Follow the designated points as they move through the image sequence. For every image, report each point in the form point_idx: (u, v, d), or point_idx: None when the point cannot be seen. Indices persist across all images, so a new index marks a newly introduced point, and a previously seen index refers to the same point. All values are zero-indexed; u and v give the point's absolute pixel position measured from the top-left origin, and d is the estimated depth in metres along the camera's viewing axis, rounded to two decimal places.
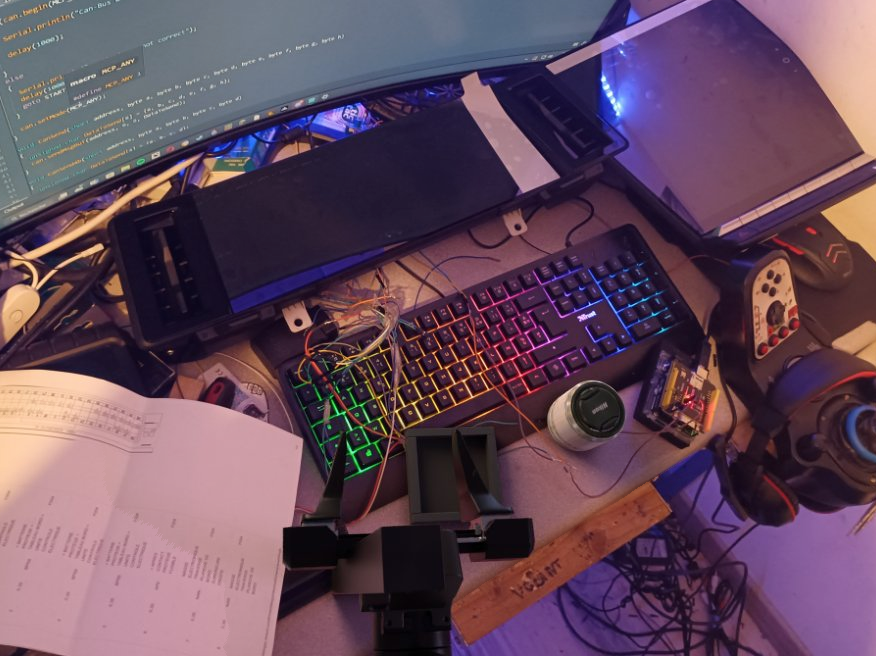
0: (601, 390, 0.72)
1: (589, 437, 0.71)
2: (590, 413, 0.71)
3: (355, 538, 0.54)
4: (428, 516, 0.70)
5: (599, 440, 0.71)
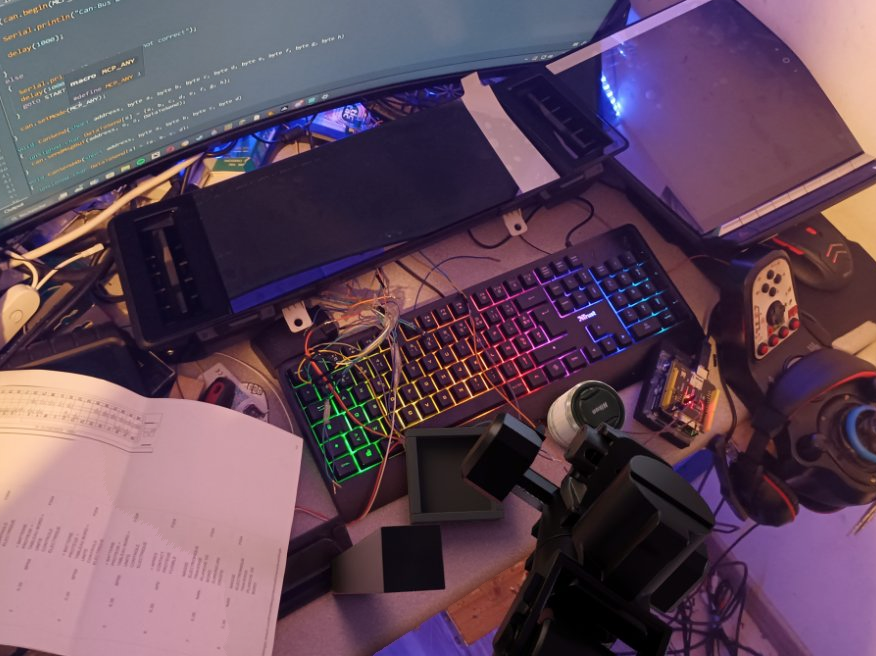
0: (601, 390, 0.72)
1: None
2: (590, 413, 0.71)
3: (540, 477, 0.55)
4: (428, 516, 0.70)
5: None
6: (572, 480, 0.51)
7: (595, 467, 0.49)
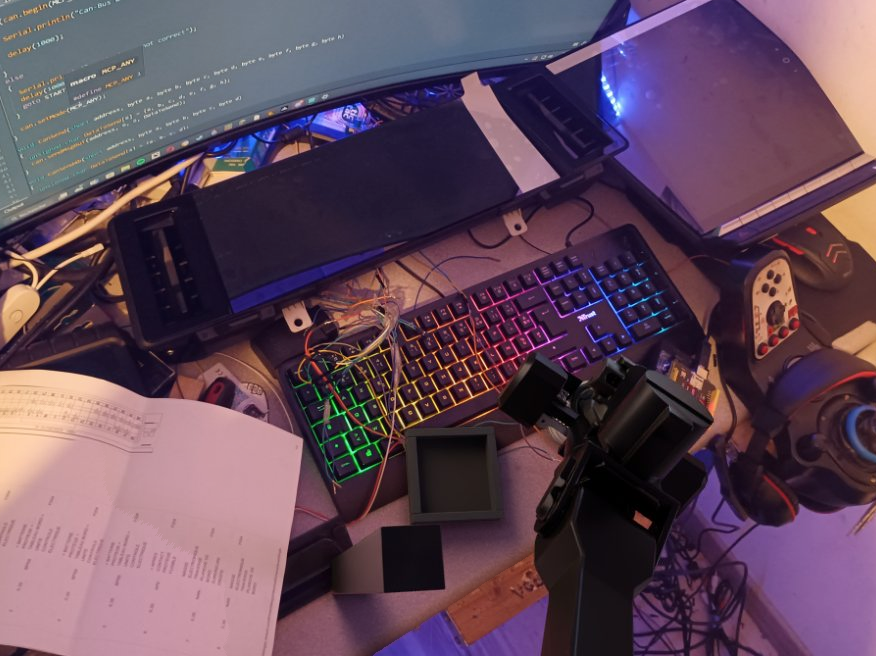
0: None
1: None
2: None
3: (565, 406, 0.66)
4: (428, 516, 0.70)
5: None
6: (594, 403, 0.62)
7: (614, 388, 0.59)
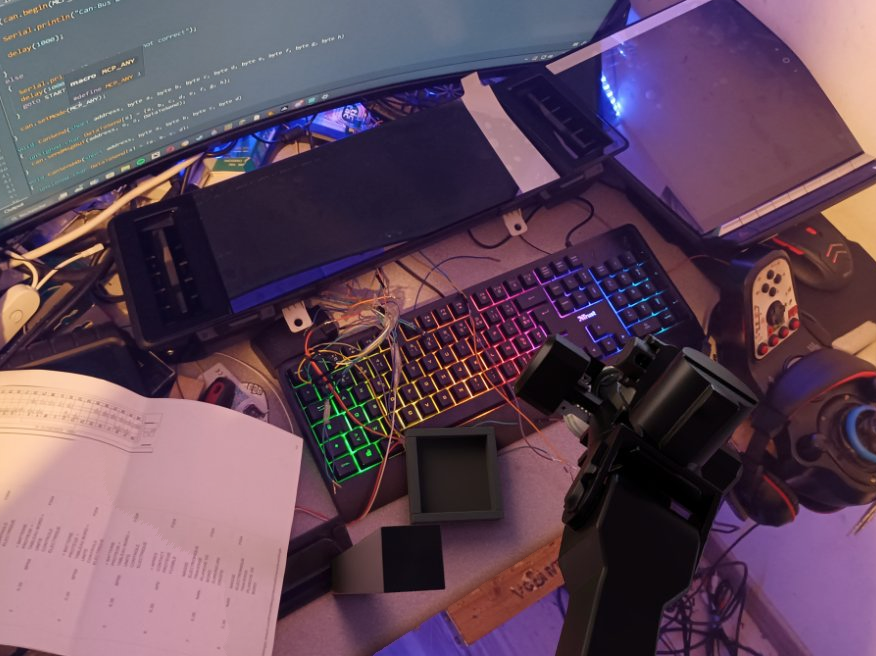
0: None
1: None
2: None
3: (587, 392, 0.61)
4: (428, 516, 0.70)
5: None
6: (620, 387, 0.57)
7: (644, 370, 0.54)
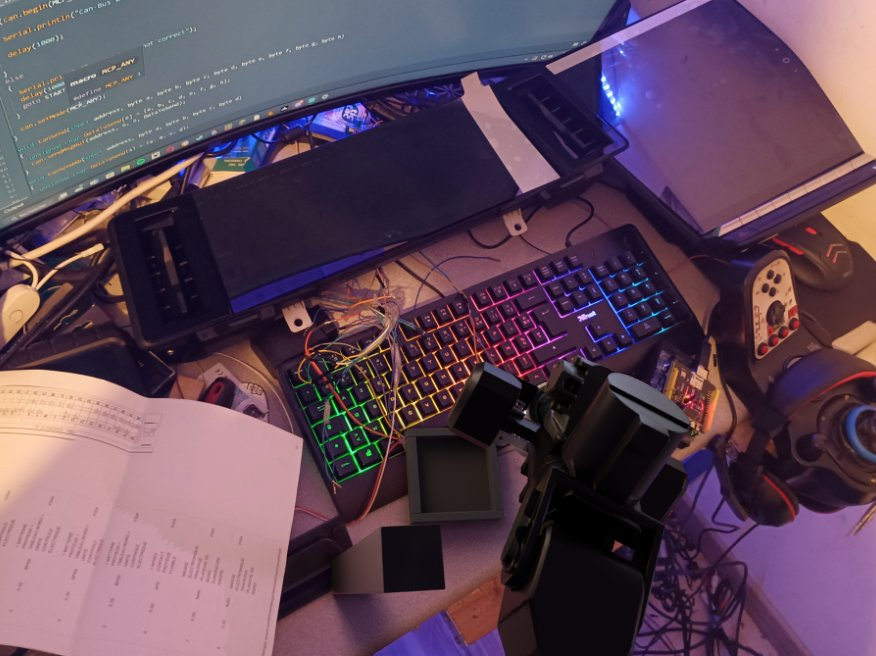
0: None
1: None
2: None
3: (523, 419, 0.58)
4: (428, 516, 0.70)
5: None
6: (554, 413, 0.54)
7: (574, 395, 0.52)
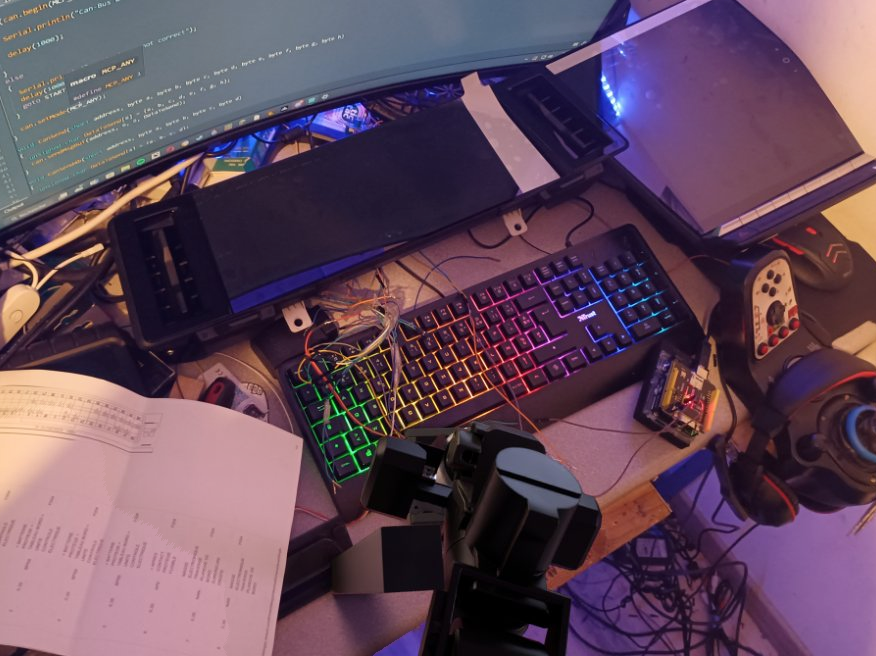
0: None
1: None
2: None
3: (434, 484, 0.58)
4: (428, 516, 0.70)
5: None
6: (460, 481, 0.54)
7: (474, 466, 0.52)
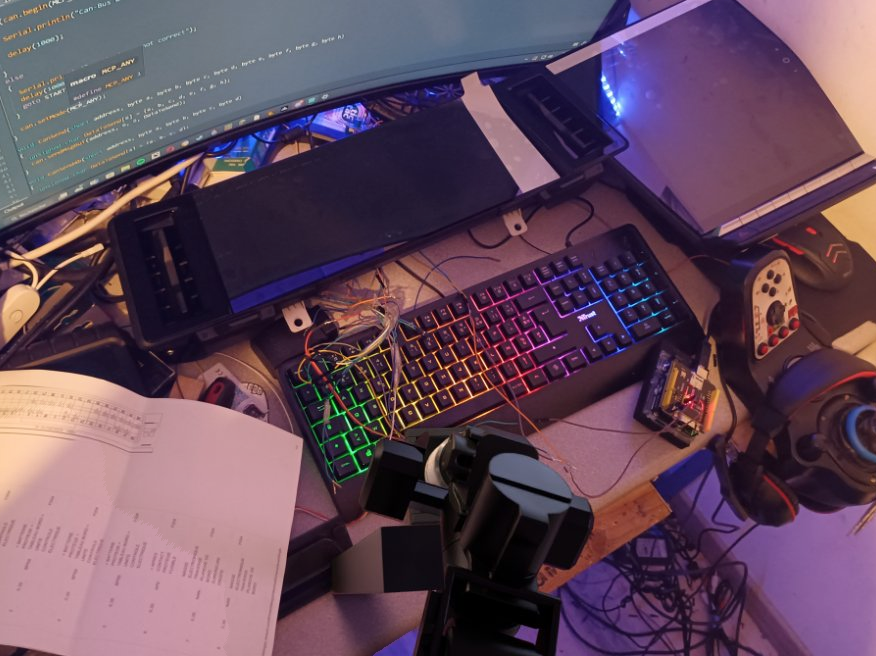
0: None
1: None
2: None
3: (431, 486, 0.60)
4: (428, 516, 0.70)
5: None
6: (455, 484, 0.56)
7: (469, 470, 0.53)
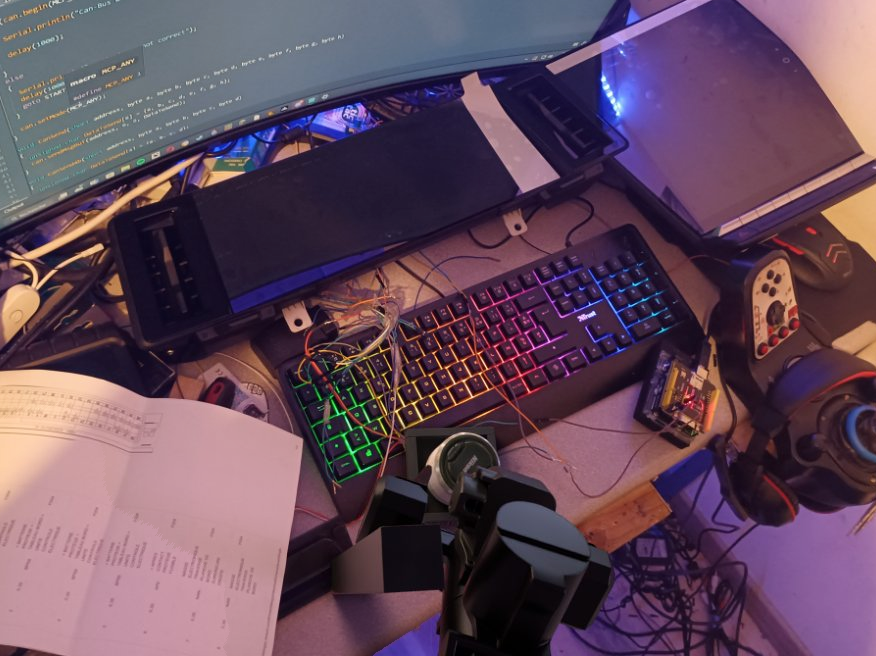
0: (466, 444, 0.67)
1: None
2: None
3: None
4: (428, 516, 0.70)
5: None
6: (462, 530, 0.50)
7: (478, 516, 0.48)
